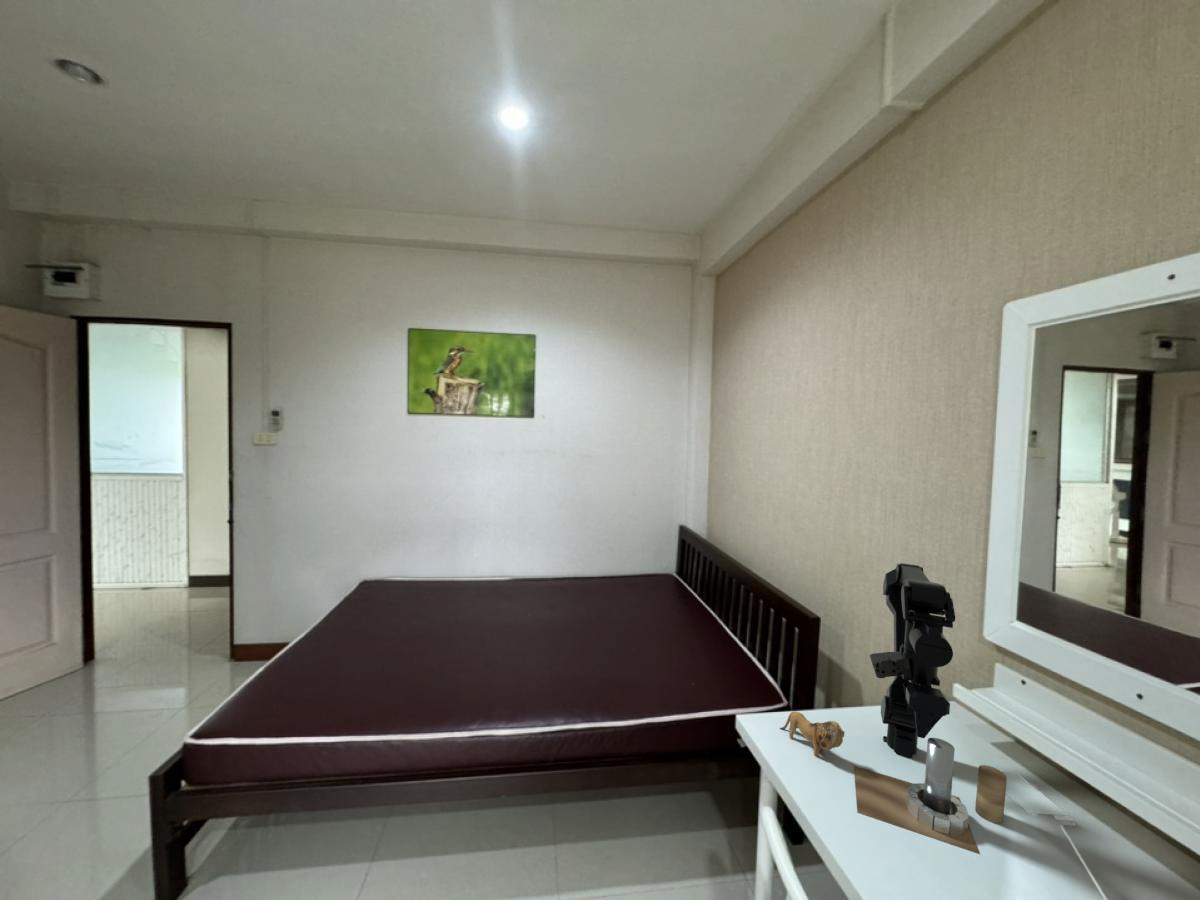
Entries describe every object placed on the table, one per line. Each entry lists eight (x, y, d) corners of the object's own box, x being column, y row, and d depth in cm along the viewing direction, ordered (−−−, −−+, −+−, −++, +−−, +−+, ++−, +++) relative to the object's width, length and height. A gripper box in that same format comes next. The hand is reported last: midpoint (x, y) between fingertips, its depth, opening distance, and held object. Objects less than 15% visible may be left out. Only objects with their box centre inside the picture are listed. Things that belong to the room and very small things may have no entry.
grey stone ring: (903, 789, 94) (904, 777, 94) (959, 807, 90) (960, 794, 90) (910, 822, 86) (911, 809, 85) (972, 843, 82) (974, 829, 82)
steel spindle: (917, 805, 90) (922, 737, 89) (939, 806, 90) (944, 738, 89) (932, 822, 86) (937, 750, 85) (954, 823, 86) (960, 752, 85)
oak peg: (972, 808, 91) (976, 762, 91) (998, 816, 89) (1002, 769, 89) (978, 823, 87) (982, 775, 87) (1005, 832, 86) (1010, 783, 85)
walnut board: (853, 770, 100) (853, 765, 100) (958, 802, 92) (959, 797, 92) (857, 817, 87) (857, 812, 87) (979, 859, 80) (980, 854, 80)
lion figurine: (846, 764, 102) (849, 723, 101) (834, 774, 99) (837, 731, 98) (783, 728, 113) (786, 691, 113) (770, 736, 110) (773, 697, 110)
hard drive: (978, 770, 100) (1031, 817, 88) (1017, 771, 100) (1076, 819, 88) (977, 777, 100) (1031, 826, 88) (1017, 779, 100) (1075, 828, 88)
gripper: (869, 622, 106) (864, 692, 107) (881, 654, 89) (875, 737, 89) (928, 633, 102) (923, 706, 102) (953, 669, 85) (947, 756, 85)
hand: (915, 724), depth 95 cm, fingers open, 9 cm apart
